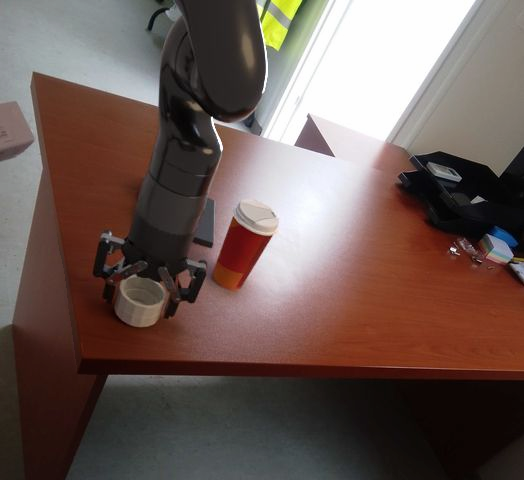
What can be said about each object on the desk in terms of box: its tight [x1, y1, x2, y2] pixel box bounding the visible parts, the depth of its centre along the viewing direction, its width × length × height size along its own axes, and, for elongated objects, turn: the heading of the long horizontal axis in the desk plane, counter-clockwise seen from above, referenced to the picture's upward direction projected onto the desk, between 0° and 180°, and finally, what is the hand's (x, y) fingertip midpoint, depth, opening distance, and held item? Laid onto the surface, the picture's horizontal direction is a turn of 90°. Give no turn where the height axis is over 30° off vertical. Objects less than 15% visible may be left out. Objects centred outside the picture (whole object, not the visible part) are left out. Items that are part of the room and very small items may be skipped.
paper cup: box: [212, 198, 280, 291], centre depth 75 cm, size 8×8×14 cm
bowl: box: [113, 274, 167, 328], centre depth 64 cm, size 6×6×4 cm
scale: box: [140, 177, 216, 249], centre depth 85 cm, size 15×15×3 cm
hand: (138, 307), depth 65 cm, fingers open, 7 cm apart
